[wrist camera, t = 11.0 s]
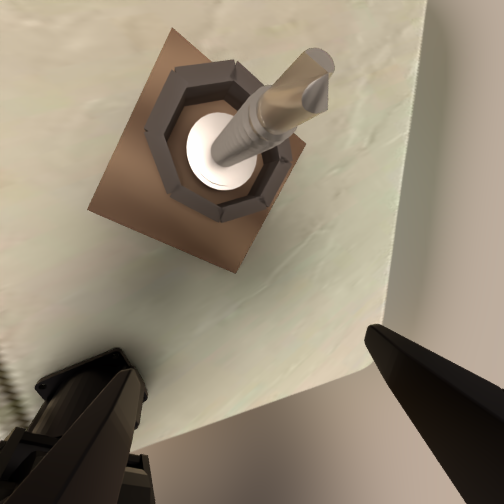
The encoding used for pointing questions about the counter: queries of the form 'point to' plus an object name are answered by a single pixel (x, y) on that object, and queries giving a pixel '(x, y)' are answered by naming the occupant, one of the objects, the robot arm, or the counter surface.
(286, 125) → the screw
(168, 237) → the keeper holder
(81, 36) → the counter surface
